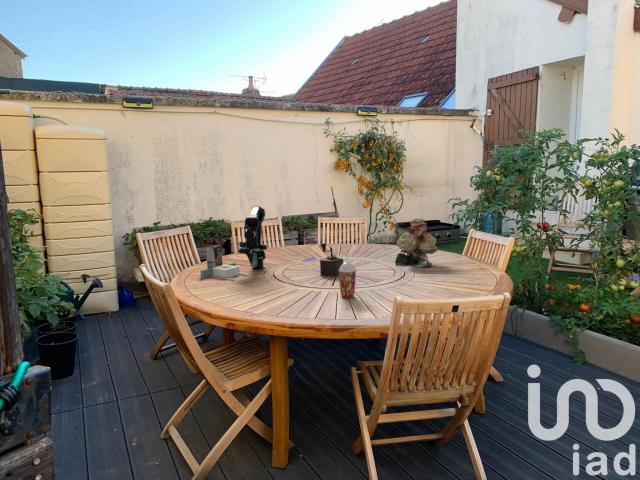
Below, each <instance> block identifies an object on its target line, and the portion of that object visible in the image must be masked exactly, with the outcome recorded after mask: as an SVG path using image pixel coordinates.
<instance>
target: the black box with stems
mask: <svg viewBox="0 0 640 480" xmlns="http://www.w3.org/2000/svg"><path fill="white" fill-rule="evenodd" d="M319 245H320V248H321V249H322V253H330V255H329V256H327V257H326V258H322V259H320V260H319V263H320V264H319V267H320V270H319V271H320V273H319V274H320V276H323V277H324V276H325V277H331V278H335V277H339V269H340V266H341V265H342V264H343V263H344V258H340V257H337V256H336V254H334V255H333V247H332V246H331V247H330V250H328V249H327V243H326V242H323V243H321V244H319Z"/></svg>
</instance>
